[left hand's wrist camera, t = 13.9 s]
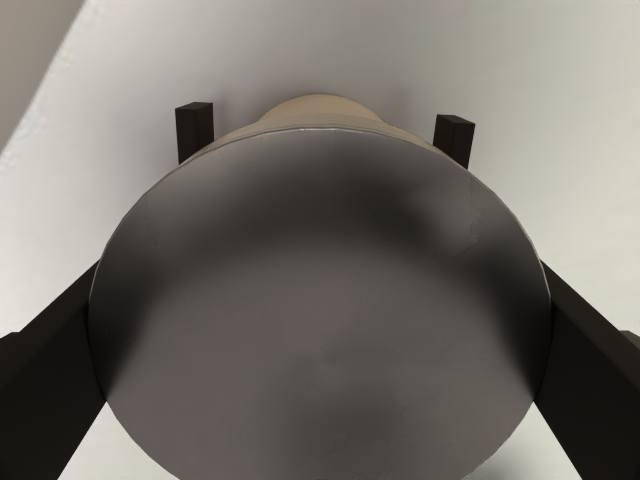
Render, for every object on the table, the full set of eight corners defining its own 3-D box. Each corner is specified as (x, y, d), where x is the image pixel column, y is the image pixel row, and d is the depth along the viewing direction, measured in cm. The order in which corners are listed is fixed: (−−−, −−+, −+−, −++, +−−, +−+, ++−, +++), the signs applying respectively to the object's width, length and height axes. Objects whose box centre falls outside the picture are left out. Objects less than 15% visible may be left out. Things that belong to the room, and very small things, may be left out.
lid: (84, 129, 11) (22, 147, 8) (530, 96, 10) (587, 105, 8) (170, 457, 14) (143, 529, 12) (495, 440, 14) (528, 510, 12)
